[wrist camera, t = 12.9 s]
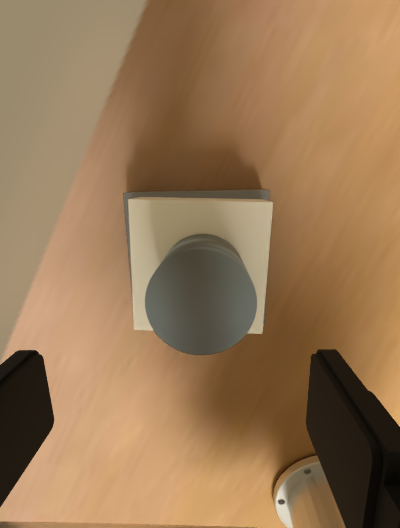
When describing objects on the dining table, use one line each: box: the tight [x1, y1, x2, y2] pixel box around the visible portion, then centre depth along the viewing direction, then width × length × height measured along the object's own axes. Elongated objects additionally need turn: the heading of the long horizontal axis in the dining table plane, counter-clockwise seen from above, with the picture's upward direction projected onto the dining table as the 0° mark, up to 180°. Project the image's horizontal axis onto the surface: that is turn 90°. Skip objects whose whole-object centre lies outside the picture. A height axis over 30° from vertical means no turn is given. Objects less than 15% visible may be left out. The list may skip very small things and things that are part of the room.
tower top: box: [128, 197, 273, 334], centre depth 24 cm, size 10×10×4 cm
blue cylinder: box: [145, 234, 257, 355], centre depth 19 cm, size 6×6×6 cm
